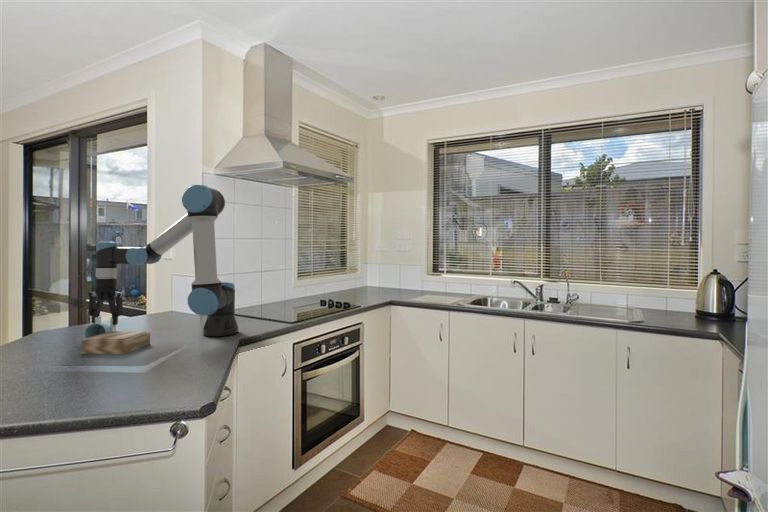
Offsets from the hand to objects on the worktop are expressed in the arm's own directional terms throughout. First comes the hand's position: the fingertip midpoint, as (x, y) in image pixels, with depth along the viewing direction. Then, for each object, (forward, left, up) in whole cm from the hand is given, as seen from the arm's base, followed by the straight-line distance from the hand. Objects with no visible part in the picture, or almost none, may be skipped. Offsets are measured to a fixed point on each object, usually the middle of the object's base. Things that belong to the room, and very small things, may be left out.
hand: (105, 332), depth 179 cm
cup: (0, +1, -4) cm, 4 cm away
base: (-17, +18, -3) cm, 25 cm away
